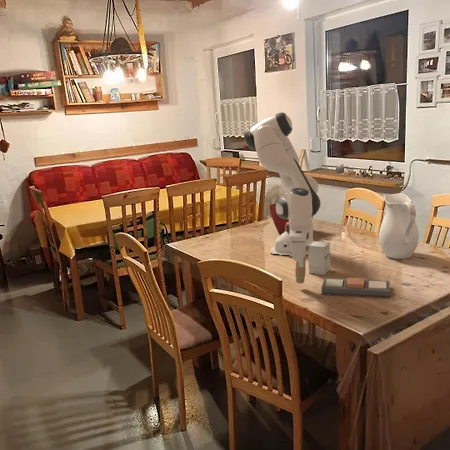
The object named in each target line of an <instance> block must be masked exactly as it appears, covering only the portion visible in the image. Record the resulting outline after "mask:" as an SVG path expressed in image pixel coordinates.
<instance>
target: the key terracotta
mask: <svg viewBox="0 0 450 450" xmlns="http://www.w3.org/2000/svg"><path fill="white" fill-rule="evenodd" d="M346 279H347V283H346V288H364V280H365V277H364V278H363V277H362V278H361V277H347V278H346Z"/></svg>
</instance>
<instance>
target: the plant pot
mask: <svg viewBox="0 0 450 450" xmlns="http://www.w3.org/2000/svg"><path fill="white" fill-rule="evenodd" d="M268 208H269V212H270V215H271V219H272V221H273V224H274V226H275V229H276V231H277V232H278V234H280V233H284V232H285V226H286V223H287V222H289V219H282V218H280V217H279V216H278V215H277V214H276V211H275V203H273V204H269V205H268ZM313 217H314V216H312V219H313Z"/></svg>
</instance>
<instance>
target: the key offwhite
mask: <svg viewBox="0 0 450 450" xmlns="http://www.w3.org/2000/svg"><path fill="white" fill-rule="evenodd" d="M383 281H384V280H382V281H369V286H368V289H387V288H386V282H383Z"/></svg>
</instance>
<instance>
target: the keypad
mask: <svg viewBox="0 0 450 450" xmlns="http://www.w3.org/2000/svg"><path fill="white" fill-rule="evenodd" d="M327 279H335V280H343V287H325V284H326V280H327ZM322 281H323V282H322V285H321V288H320V289H321V291H320V292H321V295H325V294H330V296H344V295H346V297H347V296H348V297H367V298H381V299H382V298H386V299H387V298H388V299H390V297H391V287H390V286H391V285H390V283H391V282H390V280H378V279H364V288H346V283H347V278H331V277H325V278H324V279H323V280H322ZM369 281H383V282H386V288H387V289H368V286H369Z"/></svg>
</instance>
